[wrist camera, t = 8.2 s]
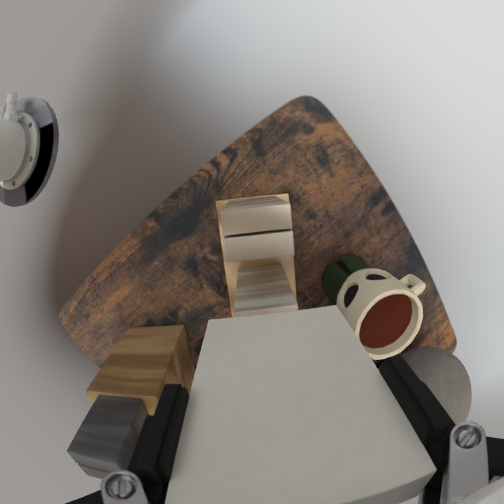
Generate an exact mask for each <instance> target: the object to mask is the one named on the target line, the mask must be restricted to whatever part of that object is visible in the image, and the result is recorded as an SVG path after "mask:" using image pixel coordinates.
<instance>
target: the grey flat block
mask: <svg viewBox="0 0 504 504" xmlns="http://www.w3.org/2000/svg"><path fill="white" fill-rule="evenodd" d="M189 396H190V397H189V401H188V405H187V409H186V413H185V417H184V422H183V426H182V430H181V434H180V439H179V443H178V447H177V452H176V456H175V461H174V465H173V470H172V474H171V479H170V481H169V485H168V490H167V494H166V499H165V504H399V503H401V502H404V501H407V500H409V499H411V498H414V497H416V496H418V494H419V493H420V492H421V491H422V489H423V488H424V487H425V486H426V484H427V483H428V482H429V480H430V479H431V478H432V476H433V475H434V474H435V472H436V471H437V469H436V467H435V465H434V464H433V462H432V460H431V458H430V456H429V454H428V453H427V451H426V449H425V447H424V446H423V444H422V443H421V441H420V440H419V438H418V436H417V434H416V433H415V431H414V429H413V427H412V426H411V424H410V422H409V420H408V419H407V417H406V415H405V414H404V412H403V410H402V409H401V407H400V405H399V404H398V402H397V400H396V399H395V397H394V395H393V394H392V392H391V390H390V389H389V387H388V385H387V384H386V382H385V380H384V379H383V377H382V376H381V374H380V372H379V370H378V369H377V367H376V365H375V364H374V362H373V361H372V359H371V358H370V356H369V354H368V353H367V351H366V350H365V348H364V347H363V345H362V343H361V342H360V340H359V339H358V337H357V336H356V334H355V333H354V331H353V330H352V328H351V327H350V325H349V324H348V322H347V321H346V319H345V318H344V316H343V315H342V313H341V312H340V310H339V309H338V307H337V306H336V305H333V306H327V307H320V308H313V309H305V310H298V311H290V312H282V313H273V314H265V315H255V316H245V317H235V318H224V319H212V320H209V321H208V325H207V329H206V332H205V336H204V340H203V344H202V348H201V351H200V355H199V359H198V363H197V367H196V371H195V375H194V379H193V383H192V387H191V391H190V395H189Z"/></svg>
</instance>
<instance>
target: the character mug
mask: <svg viewBox="0 0 504 504" xmlns="http://www.w3.org/2000/svg"><path fill="white" fill-rule="evenodd" d="M339 258H340V259H341V260H342V261H343V262H341V263H339V264H338V265H337V264H336V263H334V262H333V261H332V262H330V264H329V266H328V267H327V269H326V270H325V272H324V277H323V286H324V289H325V293H326V294H327V295H328V296H329V297H330V298H331V299H332V300H333V301H334V302H335V303H336V306H337V307H338V309H339V310H340V312H341V313H342V315H343V316H344V318H345V319H346V321H347V322H348V324H349V325H350V327H351V328H352V330H353V331H354V333H355V334H356V336H357V337H358V339H359V340H360V342H361V343H362V345H363V347H364V348H365V350H366V351H367V353H368V354H369V356H370V358H371V359H374V360H379V359H386V358H388V357H392V356H394V355H396V354H398V353H400V352H402V351H403V350H404V349H405V348H406V347H407V346H408V345H409V344H410V343H411V342H412V341H413V339H414V338H415V336H416V334H417V333H418V331H419V329H420V326H421V322H422V319H423V310H422V303H421V302H420V300H419V299H418V297H417V296H418V295H419V294H421V293H422V292H423V291H424V290H425V288H426V285H425V283H424V282H423V281H422V280H420V279H419V278H417V277H416V276H414V275H412V274H408V275H406V276H405V277H403V278H402V279H401V280H397V279H396V278H395V277H393V276H392V275H391V274H389V273H388V272H386V271H384V270H380V269H371V268H370V267H369V266H368V265H367V264H366V263H365V262H364V261H363V260H362V259H361V258H360V257H357V256H354V255H352V254H351V255H342V256H340V257H339ZM408 285H412V286H413V287H412V288H411V289H409V288H407V286H408Z"/></svg>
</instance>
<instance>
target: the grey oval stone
mask: <svg viewBox="0 0 504 504" xmlns="http://www.w3.org/2000/svg"><path fill="white" fill-rule="evenodd" d="M399 355H401V356H402V357H403V358H404V360H405V361H406V362H407V363H408V365H409V366H410V367H411V369H412V370H413V371H414V373H415V374H416V375H417V376H418V378H419V379H420V380H421V381H423V382H424V383H425V384H426V385H427V386H428V388H429V389H430V390H431V392H432V393H433V394H434V396H435V397H436V398H437V400H438V401H439V402H440V404H441V405H442V406H443V408H444V409H445V411H446V412H447V413H448V415H449V416H450V417H451V419H452V420H453V422H454V423H455V424H456V425H457V424H459V423H461V422H465V421H466V419H467V417H468V414H469V411H470V406H471V384H470V379H469V376H468V373H467V371H466V369H465V367H464V366H463V364H462V363H461V361H460V360H458V358H457V357H455V356H454V355H453V354H451V353H449V352H447V351H445V350H443V349H439V348H434V347H423V348H417V349H412V350H409V351H406V352H404V353H401V354H399ZM378 370H379V372H380V367H379V368H378Z"/></svg>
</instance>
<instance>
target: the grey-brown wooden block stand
mask: <svg viewBox="0 0 504 504" xmlns="http://www.w3.org/2000/svg"><path fill="white" fill-rule="evenodd" d="M216 208H217V216H218V224H219V231H220V239H221V246H222V253H223V260H224V267H225V274H226V281H227V288H228V294H229V301H230V307H231V314H232V317H245V316H255V315H265V314H273V313H282V312H290V311H298V304H297V299H296V282H295V267H294V255H295V252H294V239H293V231H292V215H291V204H290V203H289V194H288V193H281V194H271V195H261V196H252V197H243V198H234V199H226V200H218V201H216Z"/></svg>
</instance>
